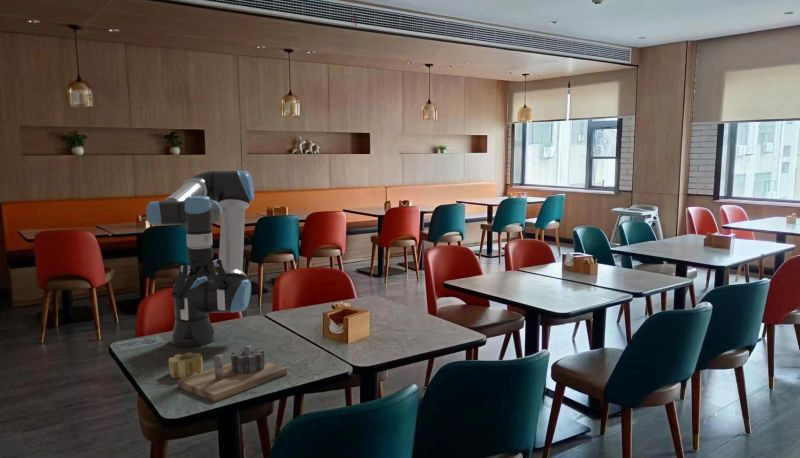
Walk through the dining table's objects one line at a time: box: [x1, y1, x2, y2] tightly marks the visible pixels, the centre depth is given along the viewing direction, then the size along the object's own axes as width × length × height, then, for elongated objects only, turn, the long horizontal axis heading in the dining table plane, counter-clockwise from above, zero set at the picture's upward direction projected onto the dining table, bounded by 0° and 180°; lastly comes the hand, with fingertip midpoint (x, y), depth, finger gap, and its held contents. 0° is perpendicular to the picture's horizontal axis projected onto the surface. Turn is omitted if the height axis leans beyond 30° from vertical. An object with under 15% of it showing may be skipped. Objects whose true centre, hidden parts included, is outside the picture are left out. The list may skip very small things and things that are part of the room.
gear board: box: [177, 344, 288, 403], centre depth 180 cm, size 18×26×9 cm
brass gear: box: [168, 352, 204, 380], centre depth 187 cm, size 10×10×5 cm
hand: (203, 314), depth 187 cm, fingers open, 13 cm apart
